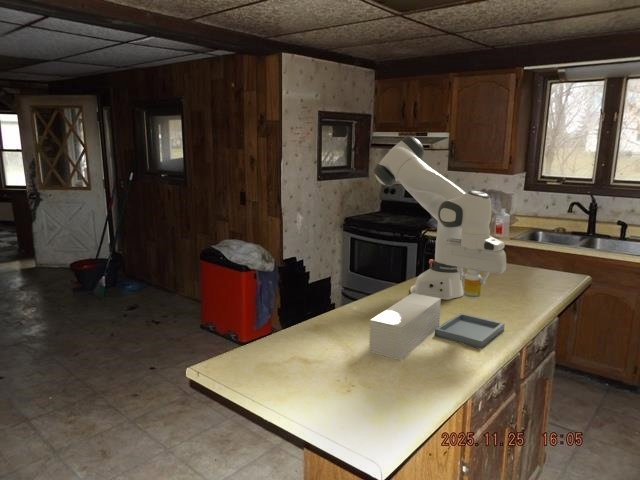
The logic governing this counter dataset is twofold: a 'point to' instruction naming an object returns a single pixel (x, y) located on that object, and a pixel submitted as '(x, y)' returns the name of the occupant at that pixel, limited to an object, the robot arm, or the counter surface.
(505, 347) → the counter surface
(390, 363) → the counter surface
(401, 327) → the light grey rectangular block
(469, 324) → the slate tray
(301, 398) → the counter surface
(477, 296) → the supplement bottle
